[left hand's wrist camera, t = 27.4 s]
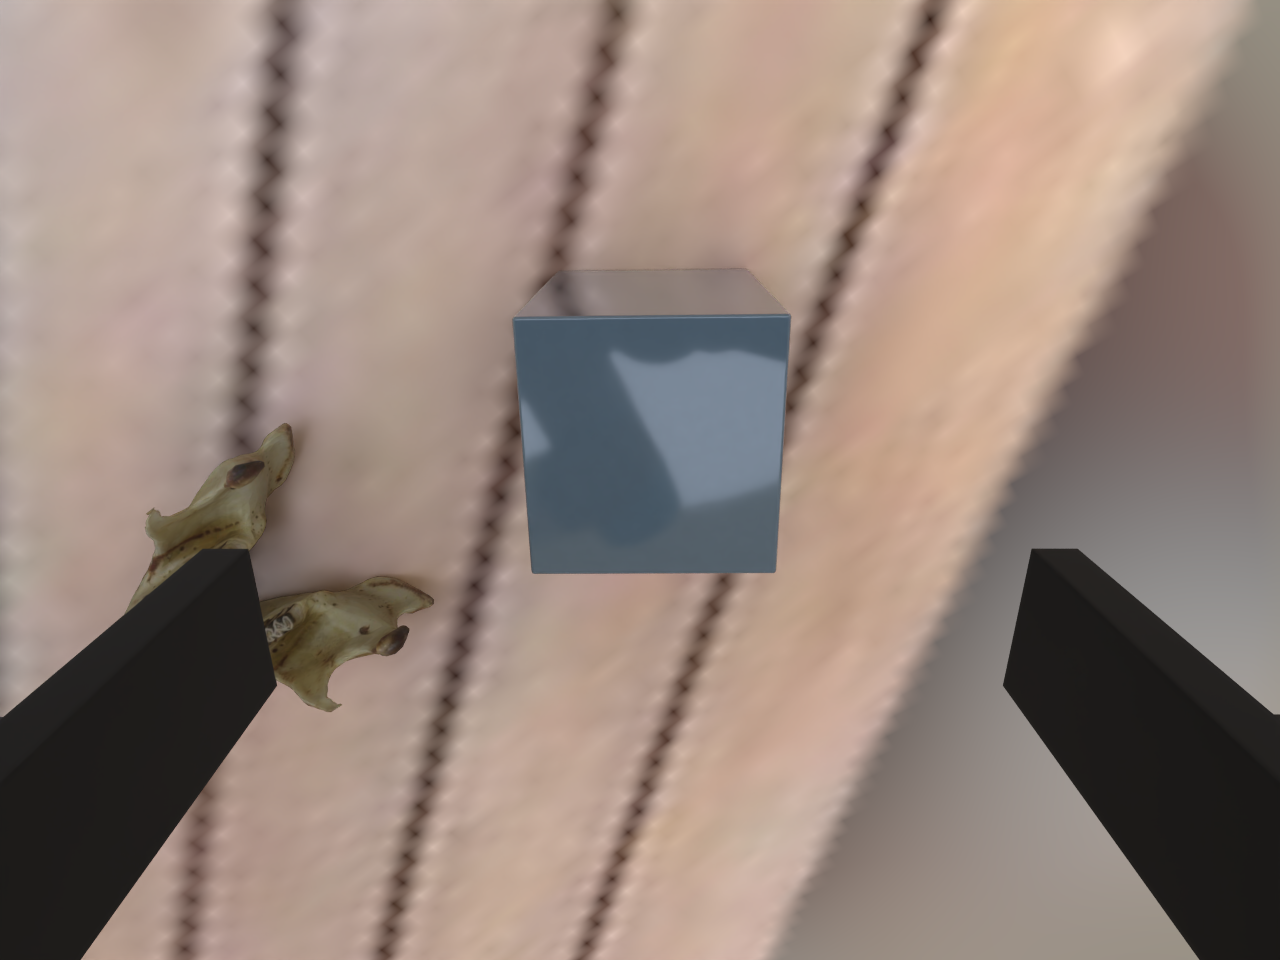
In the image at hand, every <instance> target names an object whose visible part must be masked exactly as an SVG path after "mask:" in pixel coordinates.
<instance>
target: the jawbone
mask: <svg viewBox="0 0 1280 960" xmlns="http://www.w3.org/2000/svg"><path fill="white" fill-rule="evenodd" d="M294 457H295V449H294V446H293V436H292V429H291V426H290V425H289V424H287V423H284V424H282V425H281V426H280V427H278V428H277V429H275V430H274V431H273V432H271V433H270V434H269V435H267V437H266V438H265V439H264V441H263V444H262V446H261V448H260V449H259V450H258V451H256V452H254V453H251V454H244V455H240V456H237V457H235V458H233V459H228V460H226V461H224V462H223V463H222V464H220V465H219V466H218V467H217V468H216V469H215V470H214V471H213V472H212V473H211V474H210V476H209V477H208V479H207V480H206V482H205V483H204V485H203V486H202V487H201V489H200V490H199V492H198V493H197V494H196V496H195V498H194V499H193V501H192V503H191V504H190V506H189V507H188V508H186V509H185V510H182V511H180V512H178V513H176V514H174V515H171V516H163V517H161V515H160V512H159V511H156V510H154V508H153V509H152V510H150V511H149V512H148V513H146V514H147V515H149V517H148V519H147V520H146V527H145V530H146V534H147V535H148V536H149V537H150V538H151V539H152V540H153V541H154V544H155V552H154V554H153V558H152V562H151V564H150V566H149V569H148V571H147V572H146V574H145V575H144V577H143V579H142V582H141V584H140V585H139V587H138V589H137V590H136V592H135V594H134V596H133V598H132V600H131V602H130V604H129V606H128V608H127V610H126V612H125V614H126V613H127V612H128V611H129V610H131V609H132V608H133V607H134V606H135V605H137V604H138V603H139V602H140V601H141V600H143V599H144V598H145V597H146V596H147V595H148V594H150V593H151V592H152V591H153V590H154V589H156V588H157V587H158V586H159V585H160V584H161V583H163V582H164V581H165V580H166V579H167V578H169V577H170V576H171V575H172V574H173V573H174V572H176V571H177V570H178V569H179V568H180V567H182V566H183V565H184V564H185V563H186V562H187V561H189V560H190V559H191V558H192V557H193V556H195V555H196V554H197V553H198V552H199V551H200V550H202V549H248V550H249V551H250V550H251V548H252V547H253V546H254V545H255V544H256V542H257V541H258V540H259V538H260V537H261V536H262V534H263V532H264V529H265V526H266V521H267V520H266V516H265V511H264V510H265V504H266V499H267V497H268V496H269V495H270V494H271V493H272V492H273V491H274V490H275V489H276V488H278V487H279V486H281V485H282V484H283V483H284V481H285V480H286V478H287V476H288V474H289V472H290V470H291V467H292V465H293V462H294ZM433 604H434V599H433V598H431V597H430V596H429V595H427V594H426V593H424V592H422V591H421V590H419V589H417V588H415V587H413V586H411V585H409V584H407V583H405V582H403V581H401V580H398V579H394V578H389V577H375V578H371V579H368V580H366V581H364V582H363V583H361V584H359V585H357V586H354V587H352V588H350V589H348V590H344V591H339V592H330V591H325V590H321V591H317V592H313V593H303V594H298V595H292V596H284V597H278V598H275V599H271V600H266V601H261V602H260V607H261V612H262V616H263V621H264V626H265V631H266V636H267V640H268V645H269V650H270V655H271V659H272V664H273V669H274V674H275V678H276V680H277V681H279V682H281V683H283V684H285V685H287V686H288V687H290V688H291V689H292V690H294V692H295V693H296V694H297V695H298V696H299V697H300V698H301V699H302V701H303V702H304V703H306V704H307V705H308V706H312V707H315V708H318V709H321V710H324V711H326V712H332V711H333V710H335V709H336V708H338V707H340V706H341V705H342V704H338V705H337V704H336V703H335V702H333V701H332V700H331V699H329V698H328V697H327V691H328V686H327V685H328V681H329V678H330V676H331V674H332V673H333V671H334V670H335V669H336V668H337V667H338V666H340V665H341V664H343V663H344V662H345V661H348V660H351V659H354V658H358V657H363V656H367V655H372V654H380V655H382V656H389V655H392V654H396V653H397V652H398V651H399V650H400V649H401V648H402V647H403V645H404V643H405V641H406V639H407V636H408V633H409V628H408V627H407V626H400V627H399V628H398V627H397V619H398V617H399V616H400V615H402V614H404V613H414V612H416V611H419V610H422V609H425V608H428V607H430V606H432V605H433Z"/></svg>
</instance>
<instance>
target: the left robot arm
mask: <svg viewBox="0 0 1280 960" xmlns="http://www.w3.org/2000/svg"><path fill="white" fill-rule="evenodd" d="M276 686H277V683H276V678H275V674H274V669H273V664H272V659H271V655H270V650H269V645H268V640H267V636H266V631H265V626H264V621H263V616H262V612H261V607H260V602H259V597H258V593H257V588H256V583H255V578H254V574H253V569H252V564H251V559H250V555H249V550H248V549H202V550H200V551H199V552H198V553H197V554H196V555H195V556H193V557H192V558H191V559H190V560H189V561H187V562H186V563H185V564H184V565H183V566H182V567H180V568H179V569H178V570H177V571H176V572H174V573H173V574H172V575H171V576H170V577H169V578H167V579H166V580H165V581H164V582H163V583H161V584H160V585H159V586H158V587H157V588H156V589H154V590H153V591H152V592H151V593H150V594H148V595H147V596H146V597H145V598H144V599H143V600H141V601H140V602H139V603H138V604H137V605H135V606H134V607H133V608H132V609H131V610H129V611H128V612H127V613H126V614H125V615H124V616H122V617H121V618H120V619H119V620H118V621H116V622H115V623H114V624H113V625H112V626H111V627H109V628H108V629H107V630H106V631H105V632H103V633H102V634H101V635H100V636H99V637H98V638H96V639H95V640H94V641H93V642H92V643H90V644H89V645H88V646H87V647H86V648H85V649H83V650H82V651H81V652H80V653H79V654H77V655H76V656H75V657H74V658H73V659H71V660H70V661H69V662H68V663H67V664H66V665H64V666H63V667H62V668H61V669H60V670H58V671H57V672H56V673H55V674H54V675H53V676H51V677H50V678H49V679H48V680H47V681H45V682H44V683H43V684H42V685H41V686H40V687H38V688H37V689H36V690H35V691H34V692H32V693H31V694H30V695H29V696H28V697H27V698H25V699H24V700H23V701H22V702H21V703H19V704H18V705H17V706H16V707H15V708H13V709H12V710H11V711H10V712H9V713H8V714H6V715H5V716H4V717H0V960H81V958H82V957H83V956H84V954H85V953H86V951H87V950H88V949H89V947H90V946H91V944H92V943H93V942H94V940H95V939H96V937H97V936H98V935H99V933H100V932H101V930H102V929H103V928H104V926H105V925H106V923H107V922H108V921H109V919H110V918H111V917H112V915H113V914H114V912H115V911H116V910H117V908H118V907H119V905H120V904H121V903H122V901H123V900H124V898H125V897H126V896H127V894H128V893H129V891H130V890H131V889H132V887H133V886H134V884H135V883H136V882H137V880H138V879H139V877H140V876H141V875H142V873H143V872H144V870H145V869H146V868H147V866H148V865H149V863H150V862H151V861H152V859H153V858H154V857H155V855H156V854H157V852H158V851H159V850H160V848H161V847H162V845H163V844H164V843H165V841H166V840H167V838H168V837H169V836H170V834H171V833H172V831H173V830H174V829H175V827H176V826H177V824H178V823H179V822H180V820H181V819H182V817H183V816H184V815H185V813H186V812H187V810H188V809H189V808H190V806H191V805H192V804H193V802H194V801H195V799H196V798H197V797H198V795H199V794H200V792H201V791H202V790H203V788H204V787H205V785H206V784H207V783H208V781H209V780H210V778H211V777H212V776H213V774H214V773H215V771H216V770H217V769H218V767H219V766H220V764H221V763H222V762H223V760H224V759H225V757H226V756H227V755H228V753H229V752H230V750H231V749H232V748H233V746H234V745H235V744H236V742H237V741H238V739H239V738H240V737H241V735H242V734H243V732H244V731H245V730H246V728H247V727H248V725H249V724H250V723H251V721H252V720H253V718H254V717H255V716H256V714H257V713H258V711H259V710H260V709H261V707H262V706H263V704H264V703H265V702H266V700H267V699H268V697H269V696H270V695H271V693H272V692H273V690H274V689H275V688H276ZM1003 686H1004V688H1005V689H1006V690H1007V692H1008V693H1009V695H1010V696H1011V697H1012V699H1013V700H1014V702H1015V703H1016V704H1017V706H1018V707H1019V709H1020V710H1021V711H1022V713H1023V714H1024V716H1025V717H1026V718H1027V720H1028V721H1029V723H1030V724H1031V725H1032V727H1033V728H1034V730H1035V731H1036V732H1037V734H1038V735H1039V736H1040V738H1041V739H1042V741H1043V742H1044V743H1045V745H1046V746H1047V748H1048V749H1049V750H1050V752H1051V753H1052V755H1053V756H1054V757H1055V759H1056V760H1057V762H1058V763H1059V764H1060V766H1061V767H1062V769H1063V770H1064V771H1065V773H1066V774H1067V776H1068V777H1069V778H1070V780H1071V781H1072V783H1073V784H1074V785H1075V787H1076V788H1077V790H1078V791H1079V792H1080V794H1081V795H1082V796H1083V798H1084V799H1085V801H1086V802H1087V803H1088V805H1089V806H1090V808H1091V809H1092V810H1093V812H1094V813H1095V815H1096V816H1097V817H1098V819H1099V820H1100V822H1101V823H1102V824H1103V826H1104V827H1105V829H1106V830H1107V831H1108V833H1109V834H1110V836H1111V837H1112V838H1113V840H1114V841H1115V843H1116V844H1117V845H1118V847H1119V848H1120V850H1121V851H1122V852H1123V854H1124V855H1125V856H1126V858H1127V859H1128V861H1129V862H1130V863H1131V865H1132V866H1133V868H1134V869H1135V870H1136V872H1137V873H1138V875H1139V876H1140V877H1141V879H1142V880H1143V882H1144V883H1145V884H1146V886H1147V887H1148V889H1149V890H1150V891H1151V893H1152V894H1153V896H1154V897H1155V898H1156V900H1157V901H1158V903H1159V904H1160V905H1161V907H1162V908H1163V910H1164V911H1165V912H1166V914H1167V915H1168V916H1169V918H1170V919H1171V921H1172V922H1173V923H1174V925H1175V926H1176V928H1177V929H1178V930H1179V932H1180V933H1181V935H1182V936H1183V937H1184V939H1185V940H1186V942H1187V943H1188V944H1189V946H1190V947H1191V949H1192V950H1193V951H1194V953H1195V954H1196V955H1197V957H1198V958H1199V960H1280V715H1274V714H1272V713H1271V712H1270V711H1269V710H1268V709H1267V708H1265V707H1264V706H1263V705H1262V704H1261V703H1259V702H1258V701H1257V700H1256V699H1255V698H1253V697H1252V696H1251V695H1250V694H1249V693H1248V692H1246V691H1245V690H1244V689H1243V688H1242V687H1240V686H1239V685H1238V684H1237V683H1236V682H1235V681H1233V680H1232V679H1231V678H1230V677H1229V676H1227V675H1226V674H1225V673H1224V672H1223V671H1222V670H1220V669H1219V668H1218V667H1217V666H1216V665H1214V664H1213V663H1212V662H1211V661H1210V660H1209V659H1207V658H1206V657H1205V656H1204V655H1202V654H1201V653H1200V652H1199V651H1198V650H1197V649H1195V648H1194V647H1193V646H1192V645H1191V644H1190V643H1188V642H1187V641H1186V640H1185V639H1184V638H1182V637H1181V636H1180V635H1179V634H1178V633H1177V632H1175V631H1174V630H1173V629H1172V628H1171V627H1169V626H1168V625H1167V624H1166V623H1165V622H1163V621H1162V620H1161V619H1160V618H1159V617H1158V616H1156V615H1155V614H1154V613H1153V612H1152V611H1151V610H1149V609H1148V608H1147V607H1146V606H1145V605H1143V604H1142V603H1141V602H1140V601H1139V600H1137V599H1136V598H1135V597H1134V596H1133V595H1132V594H1130V593H1129V592H1128V591H1127V590H1126V589H1124V588H1123V587H1122V586H1121V585H1120V584H1119V583H1117V582H1116V581H1115V580H1114V579H1113V578H1111V577H1110V576H1109V575H1108V574H1107V573H1106V572H1104V571H1103V570H1102V569H1101V568H1100V567H1098V566H1097V565H1096V564H1095V563H1094V562H1093V561H1091V560H1090V559H1089V558H1088V557H1087V556H1085V555H1084V554H1083V553H1082V552H1081V551H1079V550H1078V549H1032V550H1031V555H1030V559H1029V564H1028V569H1027V574H1026V579H1025V583H1024V588H1023V593H1022V597H1021V602H1020V607H1019V612H1018V616H1017V621H1016V626H1015V631H1014V636H1013V640H1012V645H1011V650H1010V655H1009V659H1008V664H1007V669H1006V674H1005V678H1004V683H1003Z"/></svg>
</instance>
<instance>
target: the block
mask: <svg viewBox="0 0 1280 960" xmlns="http://www.w3.org/2000/svg"><path fill="white" fill-rule="evenodd" d="M512 322H513V335H514V348H515V361H516V374H517V387H518V400H519V413H520V426H521V439H522V452H523V465H524V478H525V492H526V505H527V518H528V531H529V544H530V557H531V570H532V573H534V574H607V573H775V571H776V563H777V546H778V529H779V512H780V496H781V479H782V462H783V446H784V429H785V412H786V395H787V379H788V362H789V345H790V328H791V315H790V313H789V312H788V311H787V310H786V309H785V308H784V307H783V306H782V305H781V304H780V303H779V302H778V301H777V300H776V299H775V298H774V297H773V295H772V294H771V293H770V292H769V291H768V290H767V289H766V288H765V287H764V286H763V285H762V284H761V283H760V282H759V281H758V280H757V278H756V277H755V276H754V275H753V274H752V273H751V272H750V271H749V270H748V269H685V270H604V271H558V272H557V273H556V274H555V275H554V276H553V277H552V278H551V279H550V280H549V281H548V282H547V283H546V284H545V285H544V286H543V287H542V288H541V289H540V290H539V291H538V292H537V293H536V294H535V295H534V296H533V298H532V299H531V300H530V301H529V302H528V303H527V304H526V305H525V306H524V307H523V308H522V309H521V310H520V311H519V312H518V313H517V314H516V315H515V316H514V317H513V319H512Z"/></svg>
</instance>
